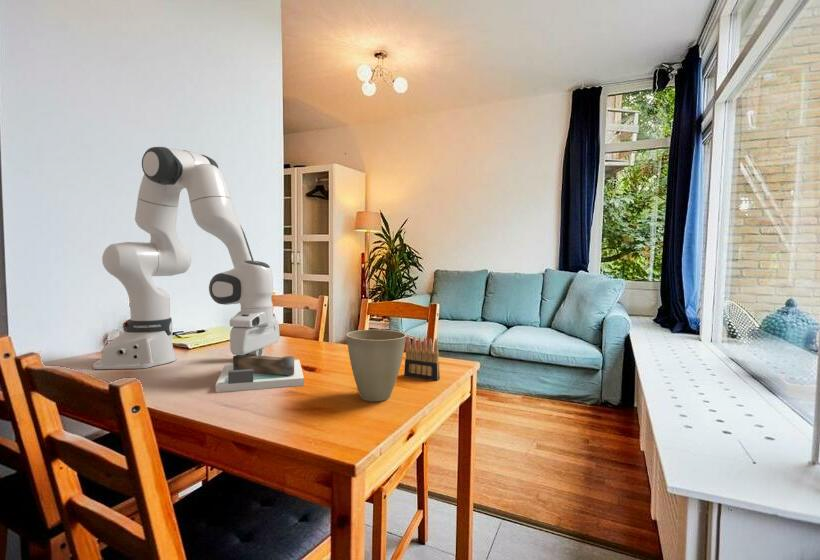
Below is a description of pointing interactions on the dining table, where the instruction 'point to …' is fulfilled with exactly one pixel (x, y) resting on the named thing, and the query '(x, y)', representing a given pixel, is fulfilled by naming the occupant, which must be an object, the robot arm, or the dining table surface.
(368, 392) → the plant pot
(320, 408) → the dining table surface
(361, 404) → the dining table surface
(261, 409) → the dining table surface
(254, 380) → the shallow rectangular tray
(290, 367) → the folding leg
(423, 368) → the ammunition clip
